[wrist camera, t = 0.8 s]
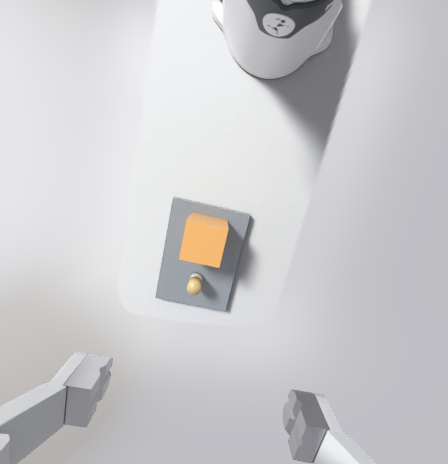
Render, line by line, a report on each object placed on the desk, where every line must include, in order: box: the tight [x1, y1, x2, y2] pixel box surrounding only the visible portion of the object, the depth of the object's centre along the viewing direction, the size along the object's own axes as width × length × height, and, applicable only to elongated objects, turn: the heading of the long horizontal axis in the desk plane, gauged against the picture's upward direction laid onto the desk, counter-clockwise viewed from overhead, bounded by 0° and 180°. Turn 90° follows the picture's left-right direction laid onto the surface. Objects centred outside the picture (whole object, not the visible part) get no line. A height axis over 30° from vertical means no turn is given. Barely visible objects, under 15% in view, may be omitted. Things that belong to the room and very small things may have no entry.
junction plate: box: [155, 197, 250, 312], centre depth 41 cm, size 20×14×6 cm
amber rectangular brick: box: [179, 212, 229, 268], centre depth 38 cm, size 6×6×7 cm
